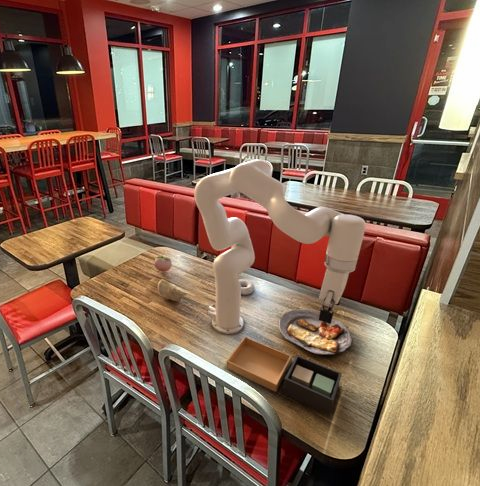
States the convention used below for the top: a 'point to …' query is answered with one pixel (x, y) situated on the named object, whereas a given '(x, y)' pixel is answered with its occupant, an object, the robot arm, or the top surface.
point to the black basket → (306, 393)
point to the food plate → (315, 332)
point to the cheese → (170, 290)
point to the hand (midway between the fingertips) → (329, 312)
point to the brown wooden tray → (259, 363)
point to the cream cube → (302, 376)
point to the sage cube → (323, 385)
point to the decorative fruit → (162, 263)
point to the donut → (246, 287)
